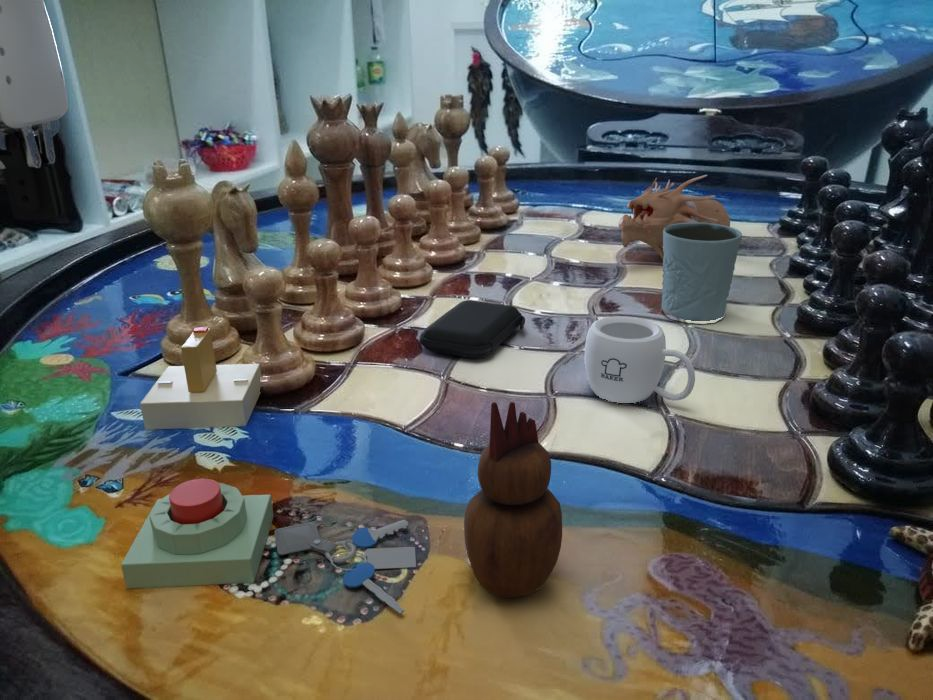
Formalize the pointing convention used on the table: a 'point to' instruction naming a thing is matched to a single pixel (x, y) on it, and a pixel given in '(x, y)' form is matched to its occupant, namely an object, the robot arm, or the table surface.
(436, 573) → the table surface
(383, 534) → the key chain
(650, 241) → the dragon head statue
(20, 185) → the robot arm
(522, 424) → the wooden figurine
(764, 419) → the table surface
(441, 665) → the table surface
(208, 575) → the box
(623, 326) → the mug
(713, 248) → the embossed teal cup
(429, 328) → the carrying case
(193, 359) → the tan block
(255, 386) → the plate
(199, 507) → the release button
